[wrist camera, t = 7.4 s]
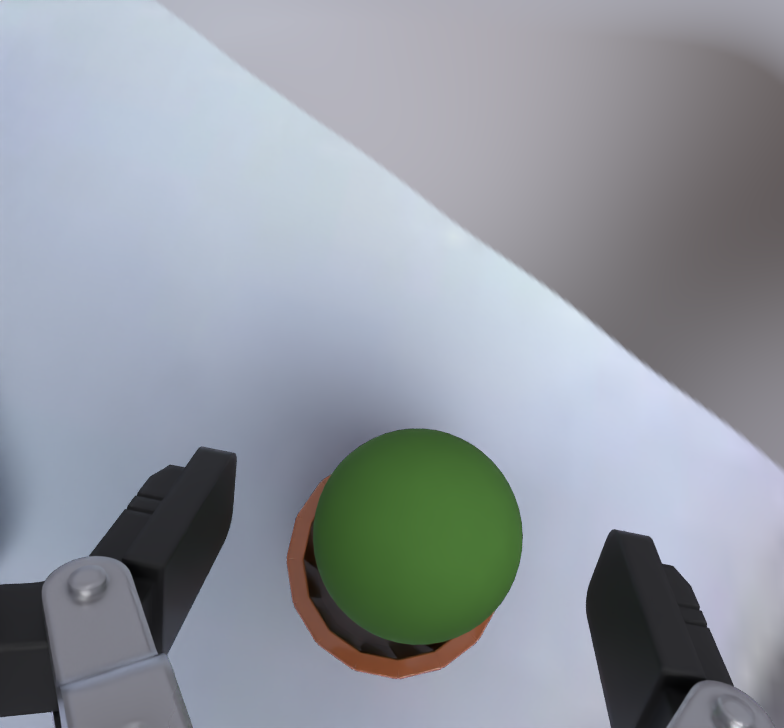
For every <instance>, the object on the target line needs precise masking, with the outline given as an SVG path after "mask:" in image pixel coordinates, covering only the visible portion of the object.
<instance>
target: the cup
mask: <svg viewBox="0 0 784 728" xmlns="http://www.w3.org/2000/svg"><path fill="white" fill-rule="evenodd" d="M330 476H331V475H329V476H328V477H326V478H325V479H323V480H322V482H320V483H319V484H318V486H317V487H316V489H315V490H314V491H313V493H312V494H311V496H310V497H309V499H308V500H307V501H306V503H305V504H304V506H303V507H302V509H301V510H300V512H299V513H298V514H297V517H296V519H295V523H294V528H293V532H292V536H291V541H290V545H289V549H288V553H287V561H286V562H287V569H288V575H289V582H290V589H291V595H292V602H293V604H294V607H295V609H296V610H297V612H298V614H299V615H300V617H301V619H302V620H303V622H304V624H305V625H306V627H307V629H308V631H309V632H310V634H311V636H312V637H313V639H314V641H315V642H316V643H317V644H318V645H319V646H320V647H322V648H323V649H324V650H326V651H327V652H329V653H330V654H331V655H333V656H334V657H335V658H337V659H338V660H340V661H341V662H342V663H344V664H345V665H347V666H348V667H349V668H351V669H354V670H355V671H358V672H363V673H368V674H373V675H378V676H383V677H388V678H393V679H398V678H399V679H403V678H407V677H411V676H416V675H420V674H424V673H428V672H433V671H437V670H440V669H441V668H444V667H446V666H447V665H448V664H450V663H451V662H452V661H453V660H455V659H456V658H457V657H459V656H460V655H461V654H463V653H464V652H465V651H466V650H468V649H469V648H470V647H472V646H473V645H474V644H476V643H477V641H478V640H479V639H480V637H481V635H482V634H483V632H484V630H485V628H486V626H487V625H488V623H489V621H490V619H491V617H492V616H493V614H494V612H495V611H494V612H493V613H492V615H490V616H489V617H488V618H487V619H486V620H485V621H484V622H482V623H481V624H480V625H478V626H477V627H475V628H474V629H472V630H471V631H469V632H467V633H465V634H463V635H461V636H459V637H457V638H454V639H451V640H447V641H444V642H440V643H433V644H427V645H411V644H403V643H397V642H393V641H390V640H386V639H383V638H381V637H379V636H376V635H374V634H372V633H370V632H368V631H367V630H365V629H363V628H362V627H360V626H359V625H357V624H356V623H355V622H354V621H352V620H351V619H350V618H349V617H348V616H347V615H346V614H345V613H344V612H343V611H342V610H341V609H340V608H339V607H338V606H337V604H336V603H335V601H334V600H333V599H332V597H331V596H330V594H329V593H328V591H327V589H326V587H325V585H324V583H323V581H322V578H321V576H320V573H319V570H318V567H317V563H316V559H315V554H314V544H313V525H314V518H315V512H316V508H317V505H318V501H319V498H320V495H321V493H322V491H323V489H324V486H325V484H326V483H327V481H328V479H329V478H330Z"/></svg>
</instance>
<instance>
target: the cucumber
mask: <svg viewBox="0 0 784 728" xmlns="http://www.w3.org/2000/svg"><path fill="white" fill-rule="evenodd" d="M522 539H523V534H522V522H521V517H520V512H519V508H518V505H517V502H516V499H515V496H514V494H513V492H512V489H511V487H510V485H509V483H508V482H507V480H506V479H505V477H504V475H503V474H502V472H501V471H500V470H499V469H498V467H497V466H496V465H495V464H494V463H493V462H492V461H491V460H490V459H489V458H488V457H487V456H486V455H485V454H484V453H483V452H482V451H480V450H479V449H477V448H476V447H475V446H473V445H472V444H470V443H468V442H466V441H465V440H463V439H461V438H458V437H456V436H453V435H451V434H448V433H445V432H441V431H437V430H430V429H404V430H397V431H393V432H389V433H385V434H383V435H380V436H378V437H375V438H373V439H371V440H370V441H368V442H366V443H364V444H362V445H361V446H359V447H358V448H357V449H355V450H354V451H353V452H351V453H350V454H349V455H348V456H347V457H346V458H345V459H344V460H343V461H342V462H341V463H340V464H339V465H338V466H337V468H336V469H335V470H334V472H333V473H332V474H331V476H330V478H329V479H328V481H327V483H326V484H325V486H324V489H323V491H322V493H321V495H320V498H319V501H318V505H317V508H316V512H315V518H314V525H313V544H314V554H315V559H316V563H317V567H318V570H319V573H320V576H321V578H322V581H323V583H324V585H325V587H326V589H327V591H328V593H329V594H330V596H331V597H332V599H333V600H334V601H335V603H336V604H337V606H338V607H339V608H340V609H341V610H342V611H343V612H344V613H345V614H346V615H347V616H348V617H349V618H350V619H351V620H352V621H354V622H355V623H356V624H357V625H359V626H360V627H362V628H363V629H365V630H367V631H368V632H370V633H372V634H374V635H376V636H379V637H381V638H383V639H386V640H390V641H393V642H397V643H403V644H411V645H427V644H433V643H440V642H444V641H447V640H451V639H454V638H457V637H459V636H461V635H463V634H465V633H467V632H469V631H471V630H472V629H474V628H475V627H477V626H478V625H480V624H481V623H482V622H484V621H485V620H486V619H487V618H488V617H489V616H490V615H492V613H493V612H494V611H495V610H496V609H497V608H498V606H499V605H500V604H501V603H502V601H503V600H504V598H505V597H506V595H507V593H508V592H509V590H510V588H511V586H512V583H513V581H514V579H515V576H516V573H517V570H518V567H519V563H520V558H521V552H522Z"/></svg>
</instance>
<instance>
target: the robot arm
mask: <svg viewBox="0 0 784 728" xmlns="http://www.w3.org/2000/svg"><path fill="white" fill-rule="evenodd" d="M236 464H237V457H236V454H235V453H232V452H227V451H222V450H217V449H212V448H207V447H202V446H201V447H200V448H198V450H197V451H196V452H195V454H194V455H193V457H192V458H191V460H190V461H189V462H188V464H187V465H186V467H180V466H175V465H169V466H167V467H165V468H164V469H162V470H160V471H159V472H157V473H155V474H154V475H152V476H150V477H149V479H148V480H147V481H146V482H145V484H144V485H143V486H142V488H141V489H140V490H139V492H138V494H137V496H135V497H134V498H133V499H132V501H131V502H130V503H129V505H128V507H127V509H125V510H124V511H123V512H122V514H121V515H120V516H119V518H118V519H117V520H116V521H115V523H114V524H113V525H112V527H111V528H110V529H109V531H108V532H107V533H106V535H105V536H104V537H103V538H102V540H101V541H100V542H99V544H98V545H97V546H96V548H95V549H94V550H93V551H92V553H91V554H90V555H89V557H83V558H79V559H75V560H72V561H70V562H67V563H65V564H64V565H62V566H60V567H59V568H57V569H56V570H54V571H53V572H52V573H51V574H50V575H49V576H48V578H47V579H46V580H45V581H42V582H36V583H23V584H3V585H0V717H6V716H16V715H26V714H36V713H46V712H51V714H52V720H53V726H54V728H193V727H192V724H191V721H190V718H189V715H188V712H187V709H186V706H185V703H184V701H183V698H182V695H181V692H180V689H179V686H178V683H177V680H176V677H175V674H174V672H173V669H172V666H171V663H170V661H169V658H168V656H167V654H168V652H169V650H170V648H171V646H172V644H173V642H174V640H175V638H176V636H177V634H178V632H179V630H180V628H181V626H182V624H183V622H184V620H185V618H186V616H187V615H188V613H189V611H190V609H191V607H192V605H193V603H194V601H195V599H196V597H197V595H198V593H199V591H200V589H201V587H202V585H203V583H204V581H205V579H206V577H207V575H208V573H209V571H210V569H211V567H212V565H213V563H214V561H215V559H216V557H217V555H218V553H219V551H220V550H221V548H222V546H223V544H224V542H225V539H226V537H227V534H228V531H229V528H230V524H231V520H232V514H233V503H234V490H235V477H236ZM699 608H700V606H699V604H698V601H697V599H696V597H695V594H694V592H693V590H692V587H691V586H690V584H689V583H688V582H687V581H686V580H685V579H684V578H683V577H682V575H681V574H680V573H679V572H678V571H677V570H676V569H675V568H674V566H671V565H666V564H662V563H661V560H660V558H659V555H658V552H657V550H656V547H655V545H654V542H653V540H652V539H651V537H649V536H645V535H640V534H635V533H630V532H625V531H620V530H615V529H614V530H612V531H611V532H610V533H609V534H608V536H607V539H606V541H605V544H604V547H603V549H602V552H601V554H600V557H599V560H598V562H597V565H596V568H595V570H594V573H593V575H592V578H591V581H590V583H589V587H588V591H587V597H586V614H587V619H588V624H589V628H590V633H591V637H592V642H593V647H594V651H595V656H596V660H597V665H598V670H599V674H600V679H601V683H602V688H603V693H604V697H605V702H606V706H607V711H608V716H609V720H610V725H611V728H775V725H774V723H773V722H772V720H771V718H770V717H769V715H768V714H767V713H766V711H765V710H764V709H763V708H762V707H761V706H760V705H759V704H758V703H757V702H756V701H755V700H754V699H753V698H751V697H750V696H748V695H747V694H746V693H744V692H743V691H741V690H739V689H738V688H735V687H734V685H733V683H732V680H731V678H730V676H729V673H728V671H727V669H726V666H725V664H724V662H723V659H722V657H721V655H720V653H719V650H718V648H717V646H716V643H715V641H714V639H713V636H712V634H711V632H710V629H709V628H707V622H706V620H705V618H704V615H703V613H702V611H700V610H699Z"/></svg>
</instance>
